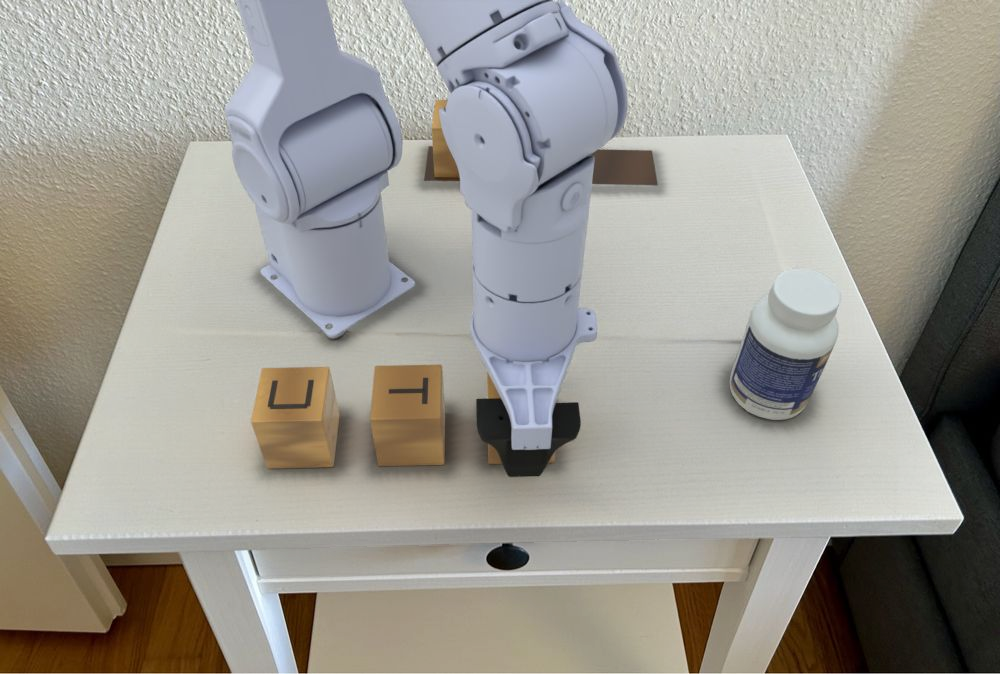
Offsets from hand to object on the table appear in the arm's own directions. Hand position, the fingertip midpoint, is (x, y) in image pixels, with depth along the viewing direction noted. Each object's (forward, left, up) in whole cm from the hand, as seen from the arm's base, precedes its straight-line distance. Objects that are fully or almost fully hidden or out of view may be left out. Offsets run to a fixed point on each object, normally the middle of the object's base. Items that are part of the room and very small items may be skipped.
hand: (521, 420), depth 54 cm
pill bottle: (+9, +15, -2) cm, 18 cm away
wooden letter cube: (0, 0, -2) cm, 2 cm away
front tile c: (-9, -10, -2) cm, 14 cm away
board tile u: (-24, +16, -1) cm, 29 cm away
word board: (-19, +21, -2) cm, 29 cm away
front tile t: (-5, -5, -2) cm, 7 cm away
